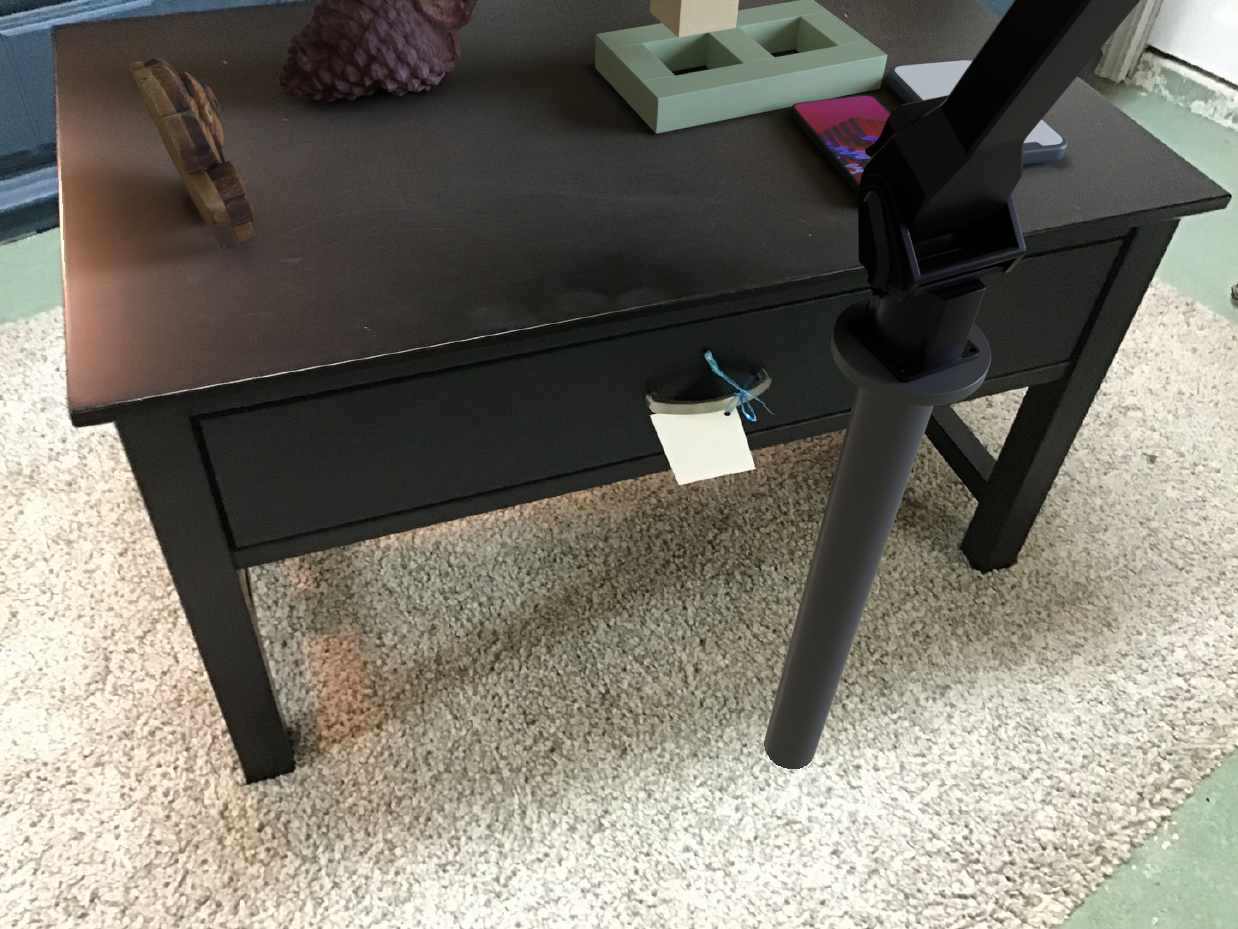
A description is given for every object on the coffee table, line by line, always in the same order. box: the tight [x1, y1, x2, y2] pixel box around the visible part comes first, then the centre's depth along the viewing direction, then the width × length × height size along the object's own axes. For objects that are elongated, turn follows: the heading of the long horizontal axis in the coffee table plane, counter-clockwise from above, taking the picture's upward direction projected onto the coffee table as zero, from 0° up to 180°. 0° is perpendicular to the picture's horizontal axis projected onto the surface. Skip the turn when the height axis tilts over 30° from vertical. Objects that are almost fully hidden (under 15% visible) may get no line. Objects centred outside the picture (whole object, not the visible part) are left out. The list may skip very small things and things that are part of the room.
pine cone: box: [278, 0, 478, 103], centre depth 84 cm, size 18×10×10 cm
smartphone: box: [790, 94, 892, 195], centre depth 81 cm, size 8×1×15 cm
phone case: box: [886, 58, 1068, 166], centre depth 85 cm, size 9×2×16 cm
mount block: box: [594, 0, 888, 135], centre depth 89 cm, size 12×21×3 cm, turn 114°
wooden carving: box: [129, 56, 256, 251], centre depth 70 cm, size 16×5×10 cm, turn 36°
